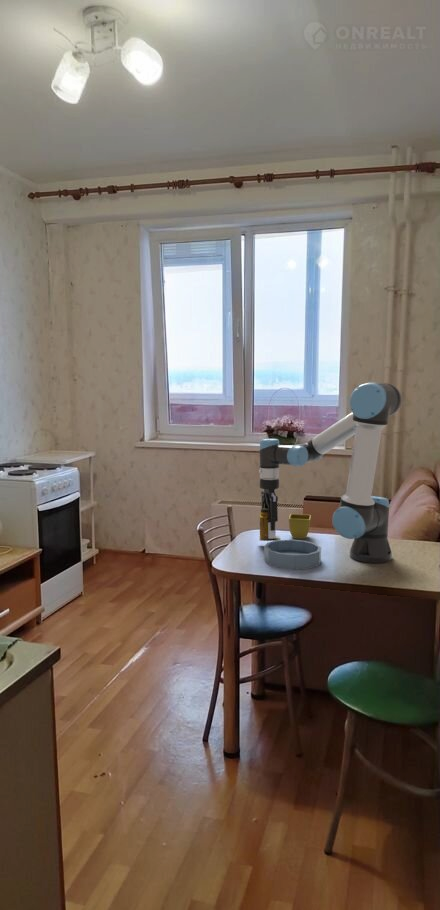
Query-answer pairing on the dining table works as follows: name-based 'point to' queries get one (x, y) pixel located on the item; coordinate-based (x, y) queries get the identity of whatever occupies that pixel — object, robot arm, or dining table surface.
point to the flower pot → (299, 525)
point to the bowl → (292, 554)
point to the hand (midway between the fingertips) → (269, 536)
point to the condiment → (265, 526)
